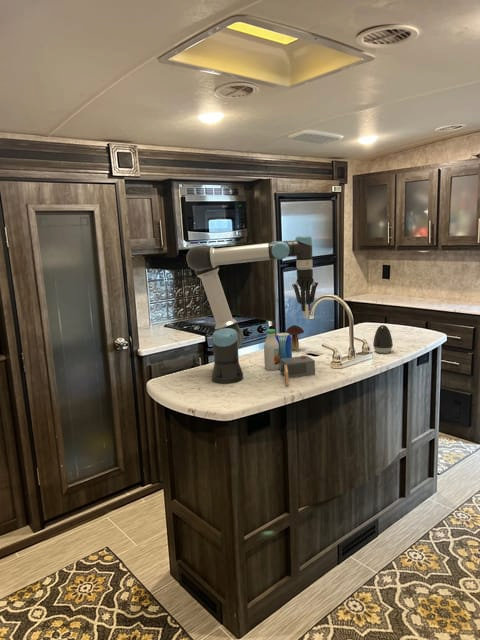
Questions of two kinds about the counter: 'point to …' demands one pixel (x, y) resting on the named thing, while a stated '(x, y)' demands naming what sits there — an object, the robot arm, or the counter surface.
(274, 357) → the milk bottle
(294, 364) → the camera body
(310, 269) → the robot arm
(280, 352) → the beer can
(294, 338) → the decorative mushroom
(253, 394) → the counter surface
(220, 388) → the counter surface
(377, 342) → the egg shaped speaker
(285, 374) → the side door
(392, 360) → the counter surface
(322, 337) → the counter surface
